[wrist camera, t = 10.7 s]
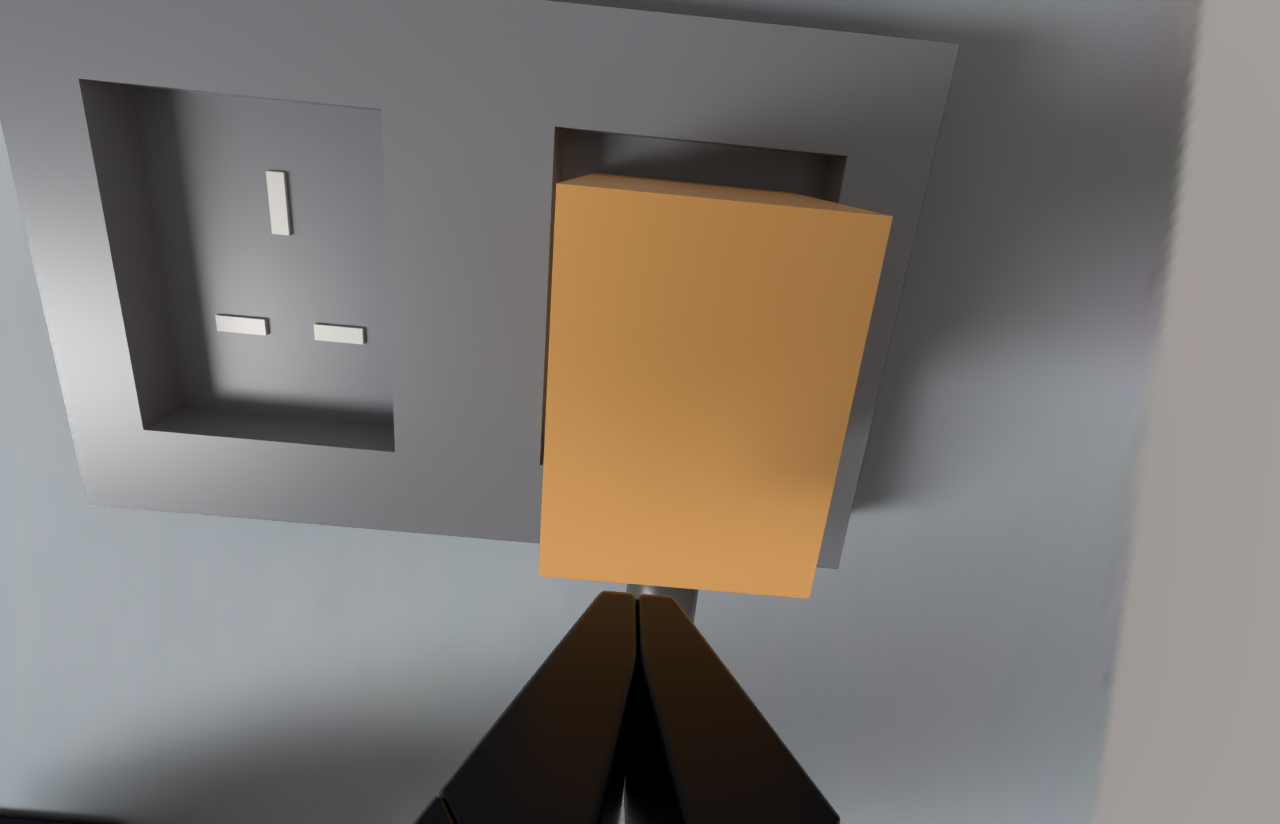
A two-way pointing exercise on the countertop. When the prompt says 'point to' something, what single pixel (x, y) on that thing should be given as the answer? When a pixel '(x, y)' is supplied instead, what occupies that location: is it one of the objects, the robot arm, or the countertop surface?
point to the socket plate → (395, 227)
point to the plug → (699, 382)
